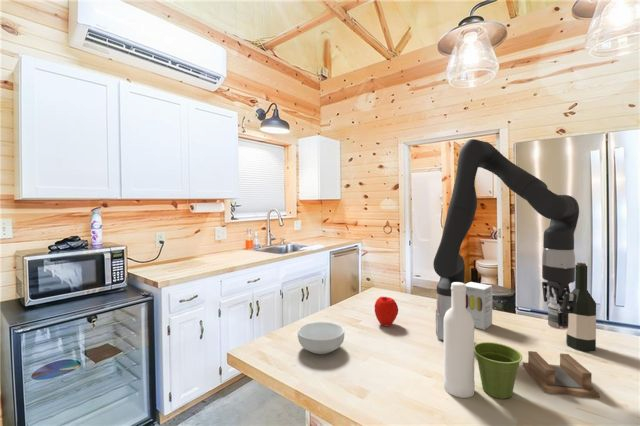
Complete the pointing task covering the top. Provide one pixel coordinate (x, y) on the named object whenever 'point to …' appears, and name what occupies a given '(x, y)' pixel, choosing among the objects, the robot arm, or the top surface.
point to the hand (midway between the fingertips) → (557, 322)
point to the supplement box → (479, 304)
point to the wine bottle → (582, 315)
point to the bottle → (458, 345)
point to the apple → (386, 310)
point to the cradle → (560, 376)
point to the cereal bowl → (321, 337)
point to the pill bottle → (554, 315)
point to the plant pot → (497, 368)
